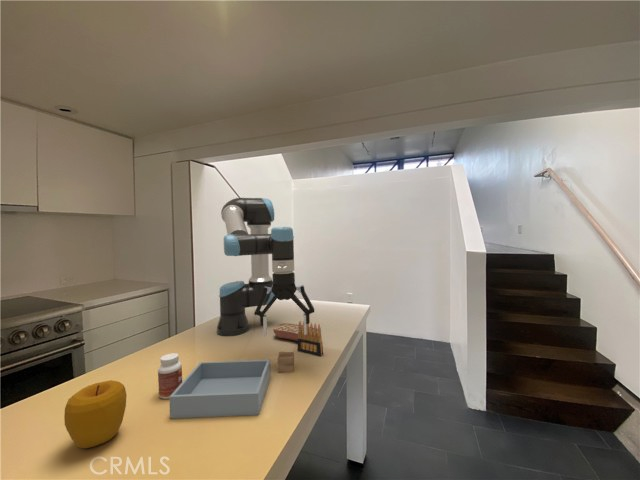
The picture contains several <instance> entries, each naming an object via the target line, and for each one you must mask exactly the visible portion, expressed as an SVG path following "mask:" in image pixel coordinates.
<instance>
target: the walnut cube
mask: <svg viewBox="0 0 640 480" xmlns="http://www.w3.org/2000/svg"><path fill="white" fill-rule="evenodd" d="M294 369H295V353H294V351H279V353H278V356H277V374H286V373H288V374H289V373H294Z"/></svg>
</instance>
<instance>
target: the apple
mask: <svg viewBox="0 0 640 480" xmlns="http://www.w3.org/2000/svg"><path fill="white" fill-rule="evenodd" d="M127 396H128V395H127V391H126V387H125V385H124V384H123V383H122V382H121V381H117V380H113V379H112V380H111V379H110V380H106V381H100V382H96V383H92V384H90V385H87V386H85V387H83V388H81V389H79V391H76V392H75V393H74V394H72V395H71V396H70V397H69V398H68V400H67V402H66V405H65V407H64V419H63V420H64V426H65V428H66V431H67V433H68V435H69V437H70V439H71V440H72V441H73V443H74V444H75V446H77V447H78V448H80V449H89V448H93V447H97V446H100V445H102V444H104V443H106V442H109V440H111V439H113V437H115V435H116V434H118V433H117V432H118V431H119V430H120V428H121V426H122V424H123V420H124V416H125V412H126V407H127Z"/></svg>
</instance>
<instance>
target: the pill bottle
mask: <svg viewBox="0 0 640 480" xmlns="http://www.w3.org/2000/svg"><path fill="white" fill-rule="evenodd" d="M179 359H180V358H179V353H176V352H175V353H174V352H173V353H167V354H164V355H162V356H161V357H160V365H159V366H158V368H157V377H158V378H157V379H158V396H159V397H160V398H161V399H163V400H165V399H166V400H167V399H168V400H169V397H170V395H171V394H172V393H173V392H174V391H175V390H176V389H177V388H178V387H179V385H180V384H181V383H182V382H183V368H182V367H183V366H182V365H183V364H182V362H181V361H179Z"/></svg>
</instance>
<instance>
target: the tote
mask: <svg viewBox="0 0 640 480" xmlns="http://www.w3.org/2000/svg"><path fill="white" fill-rule="evenodd" d="M270 380H271V359H253V360H251V359H249V360H227V361H226V360H225V361H224V360H223V361H202V362H201V361H200V362H199V363H198V364H197V365H196V366H195V368H193V369H192V370H191V372H190V373H189V374H188V375H187V377H185V379H184V380H182V383H181V384H180V385H179V387H178V388H177V389H176V390H175V391H174V392H173V393H172V394H171V395H170V397H169V399H168V400H169V401H168V402H169V419H187V418H188V419H191V418H192V419H193V418H214V417H219V418H220V417H235V416H236V417H241V416H258V415H260V412H261V409H262V406H263V402H264V401H265V400H264V399H265V396H266V393H267V389H268V387H269V383H270Z"/></svg>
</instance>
